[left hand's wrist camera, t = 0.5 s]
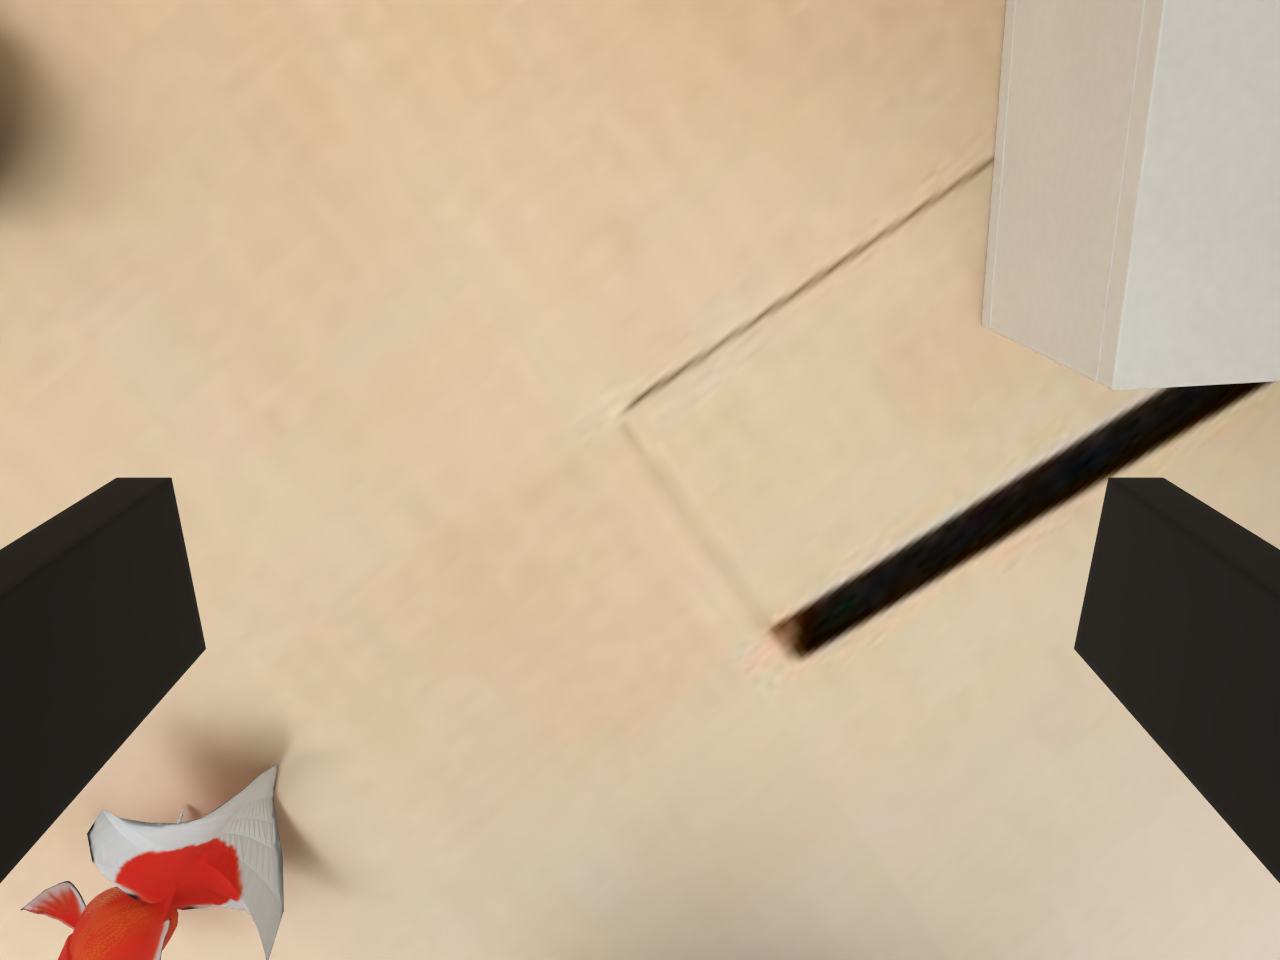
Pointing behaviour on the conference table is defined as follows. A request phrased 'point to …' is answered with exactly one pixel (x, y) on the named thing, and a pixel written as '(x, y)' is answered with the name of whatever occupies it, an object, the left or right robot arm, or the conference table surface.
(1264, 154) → the cabinet
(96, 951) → the fish
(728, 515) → the conference table surface
